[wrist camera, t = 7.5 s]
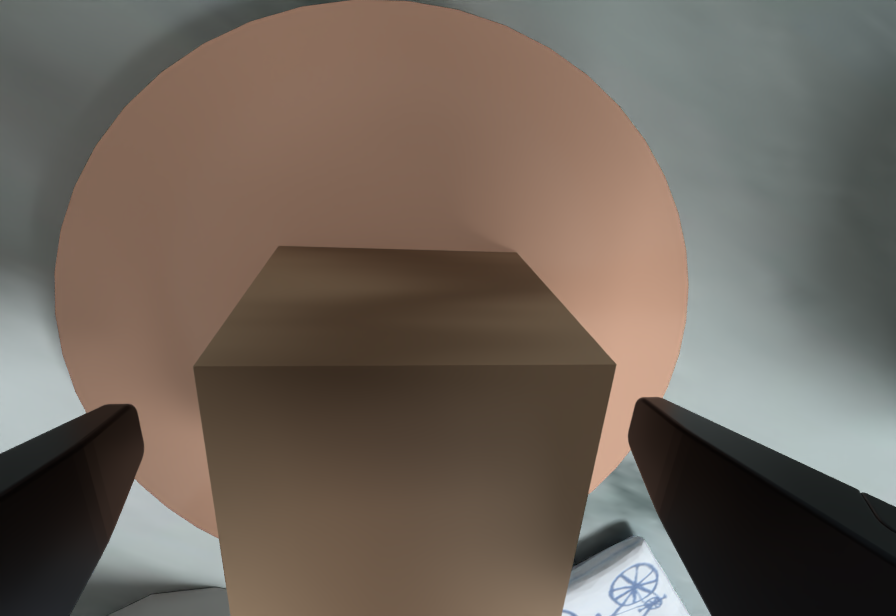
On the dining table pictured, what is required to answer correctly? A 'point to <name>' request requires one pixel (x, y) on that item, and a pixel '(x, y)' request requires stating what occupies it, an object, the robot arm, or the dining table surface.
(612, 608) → the patterned cloth
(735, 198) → the dining table surface
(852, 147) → the dining table surface
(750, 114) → the dining table surface
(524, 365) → the walnut block
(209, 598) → the cup
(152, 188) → the salmon pink disc
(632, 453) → the robot arm
